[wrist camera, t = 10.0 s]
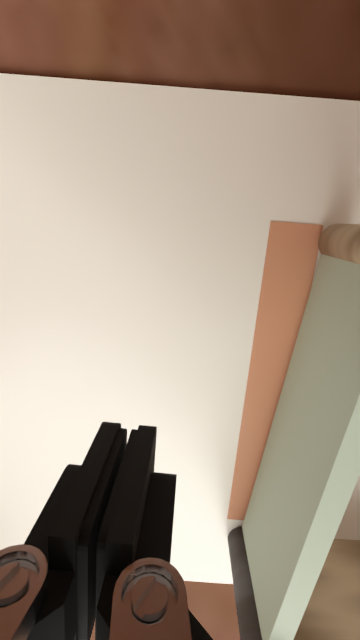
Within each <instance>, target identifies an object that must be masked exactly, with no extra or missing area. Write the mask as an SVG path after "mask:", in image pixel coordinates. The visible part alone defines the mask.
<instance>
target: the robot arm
mask: <svg viewBox="0 0 360 640" xmlns="http://www.w3.org/2000/svg"><path fill="white" fill-rule="evenodd" d="M156 434H157V427H155V426H145V425H139V427H138V430H135V429H132V430H131V433H130V436H129V439H128V442H127V429H124V428H121V423H112V422H102V424H101V426H100V428H99V430H98V432H97V434H96V436H95V438H94V440H93V442H92V444H91V447H90V449H89V451H88V453H87V455H86V457H85V459H84V461H83V463H82V465H74V464H69V465H67V466H66V468H65V469H64V471H63V473H62V475H61V477H60V478H59V480H58V482H57V484H56V486H55V488H54V489H53V491H52V493H51V495H50V497H49V499H48V500H47V502H46V504H45V506H44V508H43V510H42V512H41V513H40V515H39V517H38V519H37V521H36V523H35V524H34V526H33V528H32V530H31V532H30V534H29V535H28V537H27V539H26V541H25V543H24V545H23V544H20V545H14V546H9V547H7V548H4V549H2V550H0V640H90V637H91V634H92V630H93V626H94V622H95V618H96V625H95V640H213V639H212V638H211V637H210V635H209V634H208V633H207V632H206V630H205V629H204V628H203V627H202V625H201V624H200V623H199V622H198V621H197V619H196V618H195V617H194V616H193V614H192V613H191V612H190V611H189V609H188V603H187V594H186V588H185V584H184V581H183V578H182V576H181V575H180V573H179V572H178V570H177V569H176V568H175V567H174V566H172V565H171V564H170V557H171V544H172V531H173V518H174V504H175V491H176V478H177V474H167V473H157V472H154V464H155V449H156Z"/></svg>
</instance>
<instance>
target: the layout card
mask: <svg viewBox="0 0 360 640" xmlns="http://www.w3.org/2000/svg"><path fill="white" fill-rule="evenodd" d="M333 224H360V101H353V100H340V99H327V98H314V97H301V96H288V95H275V94H263V93H250V92H237V91H224V90H211V89H198V88H185V87H172V86H160V85H147V84H134V83H121V82H108V81H95V80H82V79H69V78H56V77H44V76H31V75H18V74H5V73H0V550H2V549H4V548H7V547H9V546H14V545H20V544H23V545H24V543H25V541H26V539H27V537H28V535H29V534H30V532H31V530H32V528H33V526H34V524H35V523H36V521H37V519H38V517H39V515H40V513H41V512H42V510H43V508H44V506H45V504H46V502H47V500H48V499H49V497H50V495H51V493H52V491H53V489H54V488H55V486H56V484H57V482H58V480H59V478H60V477H61V475H62V473H63V471H64V469H65V468H66V466H67V465H69V464H74V465H82V463H83V461H84V459H85V457H86V455H87V453H88V451H89V449H90V447H91V444H92V442H93V440H94V438H95V436H96V434H97V432H98V430H99V428H100V426H101V424H102V422H112V423H121V428H124V429H127V442H128V439H129V436H130V433H131V430H132V429H135V430H138V427H139V425H145V426H155V427H157V434H156V449H155V464H154V472H157V473H167V474H177V478H176V491H175V504H174V518H173V531H172V544H171V557H170V564H171V565H172V566H174V567H175V568H176V569H177V570H178V572H179V573H180V575H181V576H182V578H183V581H197V582H211V583H225V584H233V578H232V570H231V562H230V554H229V547H228V534H229V533H230V531H231V530H233V529H234V528H236V527H239V526H242V525H243V522H244V518H245V515H246V512H247V508H248V505H249V501H250V498H251V494H252V491H253V487H254V484H255V481H256V477H257V474H258V470H259V467H260V463H261V460H262V456H263V453H264V450H265V446H266V443H267V439H268V436H269V432H270V429H271V425H272V422H273V419H274V415H275V412H276V408H277V405H278V401H279V398H280V394H281V391H282V388H283V384H284V381H285V377H286V374H287V370H288V367H289V363H290V360H291V357H292V353H293V350H294V346H295V343H296V339H297V336H298V332H299V329H300V326H301V322H302V319H303V315H304V312H305V308H306V305H307V301H308V298H309V295H310V291H311V288H312V284H313V281H314V277H315V274H316V270H317V267H318V264H319V260H320V257H321V253H320V251H319V248H318V240H319V237H320V235H321V233H322V232H323V231H324V230H325V229H326V228H327V227H328V226H330V225H333ZM334 539H347V540H360V476H359V478H358V481H357V483H356V486H355V488H354V490H353V493H352V495H351V498H350V500H349V503H348V505H347V508H346V510H345V513H344V515H343V518H342V520H341V523H340V525H339V528H338V530H337V533H336V535H335V538H334Z"/></svg>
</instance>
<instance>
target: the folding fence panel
mask: <svg viewBox="0 0 360 640" xmlns="http://www.w3.org/2000/svg"><path fill="white" fill-rule="evenodd" d="M318 248H319V251H320V253H321V257H320V260H319V264H318V267H317V270H316V274H315V277H314V281H313V284H312V288H311V291H310V295H309V298H308V301H307V305H306V308H305V312H304V315H303V319H302V322H301V326H300V329H299V332H298V336H297V339H296V343H295V346H294V350H293V353H292V357H291V360H290V363H289V367H288V370H287V374H286V377H285V381H284V384H283V388H282V391H281V394H280V398H279V401H278V405H277V408H276V412H275V415H274V419H273V422H272V425H271V429H270V432H269V436H268V439H267V443H266V446H265V450H264V453H263V456H262V460H261V463H260V467H259V470H258V474H257V477H256V481H255V484H254V487H253V491H252V494H251V498H250V501H249V505H248V508H247V512H246V515H245V518H244V522H243V525H242V530H243V536H244V541H245V547H246V553H247V558H248V564H249V569H250V575H251V580H252V586H253V591H254V597H255V602H256V608H257V614H258V619H259V625H260V630H261V636H262V640H294V637H295V635H296V632H297V630H298V627H299V625H300V622H301V620H302V617H303V615H304V612H305V610H306V607H307V605H308V602H309V600H310V597H311V595H312V592H313V590H314V587H315V585H316V582H317V580H318V577H319V575H320V573H321V570H322V568H323V565H324V563H325V560H326V558H327V555H328V553H329V550H330V548H331V545H332V543H333V540H334V538H335V535H336V533H337V530H338V528H339V525H340V523H341V520H342V518H343V515H344V513H345V510H346V508H347V505H348V503H349V500H350V498H351V495H352V493H353V490H354V488H355V486H356V483H357V481H358V478H359V476H360V224H333V225H330V226H328V227H327V228H326V229H325V230H324V231H323V232H322V233H321V235H320V237H319V240H318Z"/></svg>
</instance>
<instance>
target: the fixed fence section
mask: <svg viewBox="0 0 360 640" xmlns="http://www.w3.org/2000/svg"><path fill="white" fill-rule="evenodd" d="M228 547H229V554H230V562H231V570H232V578H233V585H234V593H235V601H236V609H237V616H238V624H239V632H240V640H262V636H261V630H260V625H259V619H258V614H257V608H256V602H255V597H254V591H253V586H252V580H251V575H250V569H249V564H248V558H247V553H246V547H245V541H244V536H243V530H242V526H239V527H236V528H234V529H233V530H231V531H230V533H229V534H228ZM294 640H360V540H347V539H334V540H333V543H332V545H331V548H330V550H329V553H328V555H327V558H326V560H325V563H324V565H323V568H322V570H321V573H320V575H319V577H318V580H317V582H316V585H315V587H314V590H313V592H312V595H311V597H310V600H309V602H308V605H307V607H306V610H305V612H304V615H303V617H302V620H301V622H300V625H299V627H298V630H297V632H296V635H295V637H294Z"/></svg>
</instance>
